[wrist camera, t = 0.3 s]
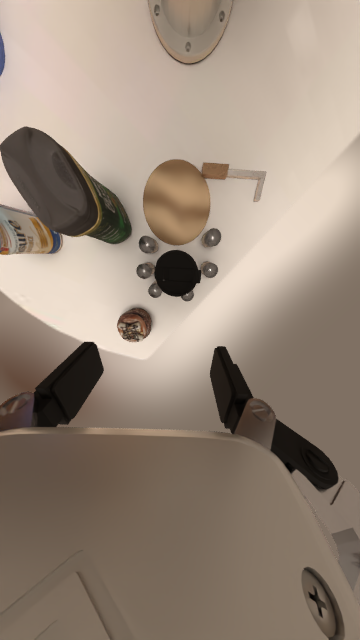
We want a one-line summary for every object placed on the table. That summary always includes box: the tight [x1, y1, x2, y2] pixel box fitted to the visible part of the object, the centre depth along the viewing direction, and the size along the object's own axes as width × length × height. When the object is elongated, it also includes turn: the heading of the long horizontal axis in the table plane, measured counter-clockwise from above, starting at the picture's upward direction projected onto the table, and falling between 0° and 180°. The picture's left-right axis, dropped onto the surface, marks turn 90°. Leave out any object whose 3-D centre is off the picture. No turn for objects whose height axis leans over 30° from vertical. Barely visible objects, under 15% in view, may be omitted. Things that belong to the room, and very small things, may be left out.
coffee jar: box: [0, 127, 131, 244], centre depth 23 cm, size 10×8×19 cm
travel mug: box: [154, 250, 201, 297], centre depth 27 cm, size 6×7×20 cm
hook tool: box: [202, 163, 266, 202], centre depth 28 cm, size 13×5×2 cm, turn 87°
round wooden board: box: [143, 160, 210, 245], centre depth 30 cm, size 15×15×1 cm
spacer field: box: [137, 228, 221, 301], centre depth 33 cm, size 16×19×6 cm
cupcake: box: [117, 308, 151, 342], centre depth 39 cm, size 10×10×10 cm
